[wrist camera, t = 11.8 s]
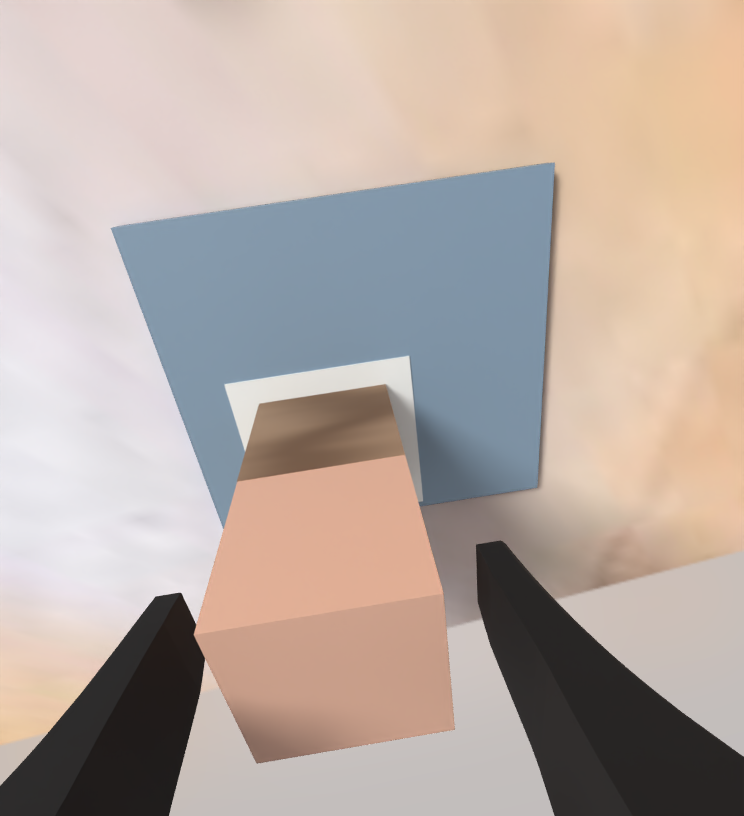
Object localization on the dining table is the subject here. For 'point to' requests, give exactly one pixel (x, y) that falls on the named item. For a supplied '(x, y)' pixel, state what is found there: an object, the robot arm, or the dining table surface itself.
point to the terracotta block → (328, 612)
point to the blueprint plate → (362, 320)
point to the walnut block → (321, 432)
